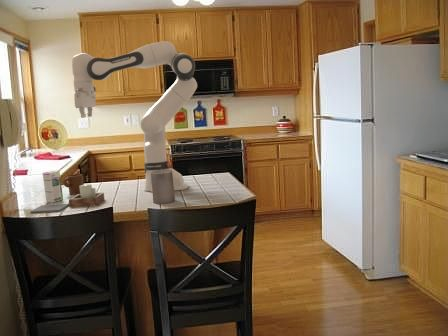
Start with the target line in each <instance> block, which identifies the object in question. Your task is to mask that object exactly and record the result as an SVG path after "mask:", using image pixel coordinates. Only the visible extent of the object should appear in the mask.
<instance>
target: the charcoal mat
mask: <svg viewBox="0 0 448 336" xmlns="http://www.w3.org/2000/svg"><path fill="white" fill-rule="evenodd" d="M68 207H70V206H69V203H60V204H42V205H40V206H38V207H36V208H35V209H32V210H30V211H29V212H30V214H39V213H40V214H43V213H58V212H59V211H60V212H62V211H63V210H65V209H67V208H68Z"/></svg>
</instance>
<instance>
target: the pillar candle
mask: <svg viewBox="0 0 448 336" xmlns="http://www.w3.org/2000/svg"><path fill="white" fill-rule="evenodd" d="M151 183H152V192H151V193H152V200H153V201H152V202H153V204H157V205H164V204H171V203H173V202H175V200H176V196H175V191H174V185H173V175H172V170H162V169H161V170H157V171H153V172H151Z"/></svg>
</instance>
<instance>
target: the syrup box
mask: <svg viewBox="0 0 448 336" xmlns="http://www.w3.org/2000/svg"><path fill="white" fill-rule="evenodd" d="M60 172H61V171H60V170H50V171H49V170H48V171H45V172H42V180H43V186H44V195H45V201H46V202H47V203H55V202H56V201H57V202H61V201H64V196H63V195H64V194H63V189H62V188H63V187H62V181H61V173H60ZM60 200H61V201H60Z"/></svg>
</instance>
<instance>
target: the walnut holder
mask: <svg viewBox="0 0 448 336" xmlns="http://www.w3.org/2000/svg"><path fill="white" fill-rule="evenodd" d="M103 201H105V192H96V197H93V198H81V195H80V194H74V196H72V197H71V198H69V199H68V204H69V206H68V207H69V208H76V207H77V208H79V207H80V208H81V207H94V206H95V207H97V206H98V205H100V204H101V203H102V202H103Z"/></svg>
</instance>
